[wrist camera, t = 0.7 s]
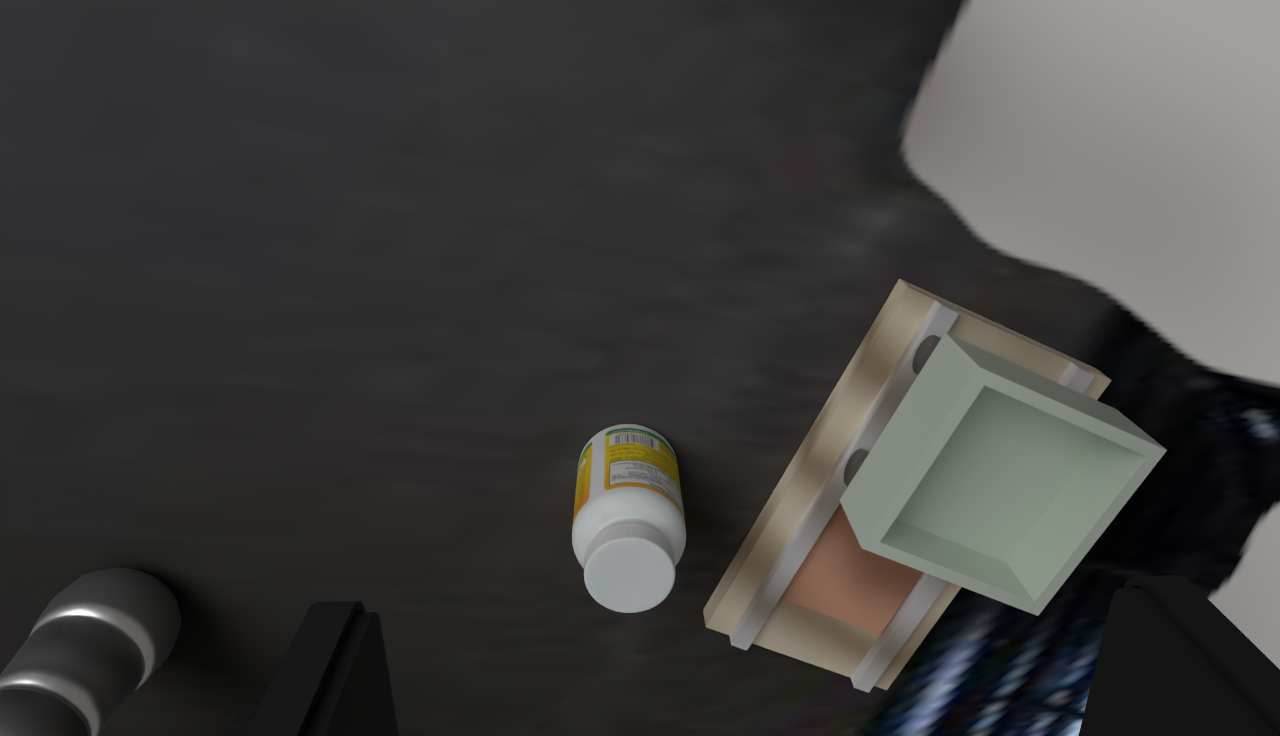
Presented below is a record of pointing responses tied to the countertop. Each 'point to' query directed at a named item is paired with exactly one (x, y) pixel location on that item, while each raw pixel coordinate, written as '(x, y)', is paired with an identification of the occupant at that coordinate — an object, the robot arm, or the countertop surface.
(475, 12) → the countertop surface
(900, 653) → the track
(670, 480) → the supplement bottle
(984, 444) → the sage green storage bin
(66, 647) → the plastic bottle
